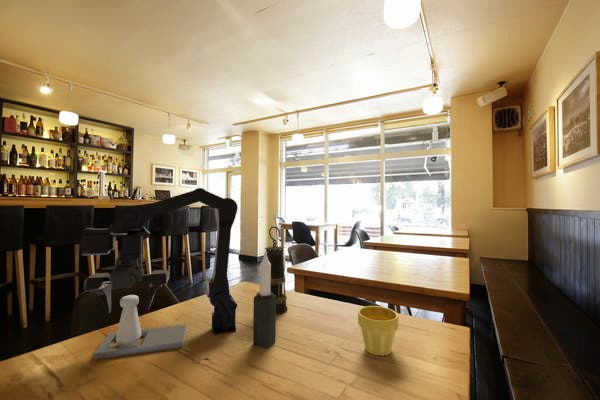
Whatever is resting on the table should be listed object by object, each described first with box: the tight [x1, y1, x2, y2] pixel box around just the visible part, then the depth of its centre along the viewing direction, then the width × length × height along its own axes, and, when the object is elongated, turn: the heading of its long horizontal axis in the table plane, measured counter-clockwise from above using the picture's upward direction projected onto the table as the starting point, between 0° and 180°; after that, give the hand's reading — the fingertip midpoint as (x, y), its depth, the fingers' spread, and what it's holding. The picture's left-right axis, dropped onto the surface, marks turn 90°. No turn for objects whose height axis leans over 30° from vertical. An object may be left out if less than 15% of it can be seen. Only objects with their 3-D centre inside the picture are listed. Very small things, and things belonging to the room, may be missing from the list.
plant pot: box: [357, 305, 399, 357], centre depth 74 cm, size 10×10×10 cm
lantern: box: [264, 226, 288, 316], centre depth 101 cm, size 9×9×30 cm
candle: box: [252, 251, 277, 349], centre depth 77 cm, size 5×5×25 cm
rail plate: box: [93, 324, 187, 361], centre depth 76 cm, size 20×11×2 cm, turn 108°
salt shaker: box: [115, 294, 142, 348], centre depth 75 cm, size 6×6×13 cm
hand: (128, 311), depth 75 cm, fingers open, 9 cm apart
